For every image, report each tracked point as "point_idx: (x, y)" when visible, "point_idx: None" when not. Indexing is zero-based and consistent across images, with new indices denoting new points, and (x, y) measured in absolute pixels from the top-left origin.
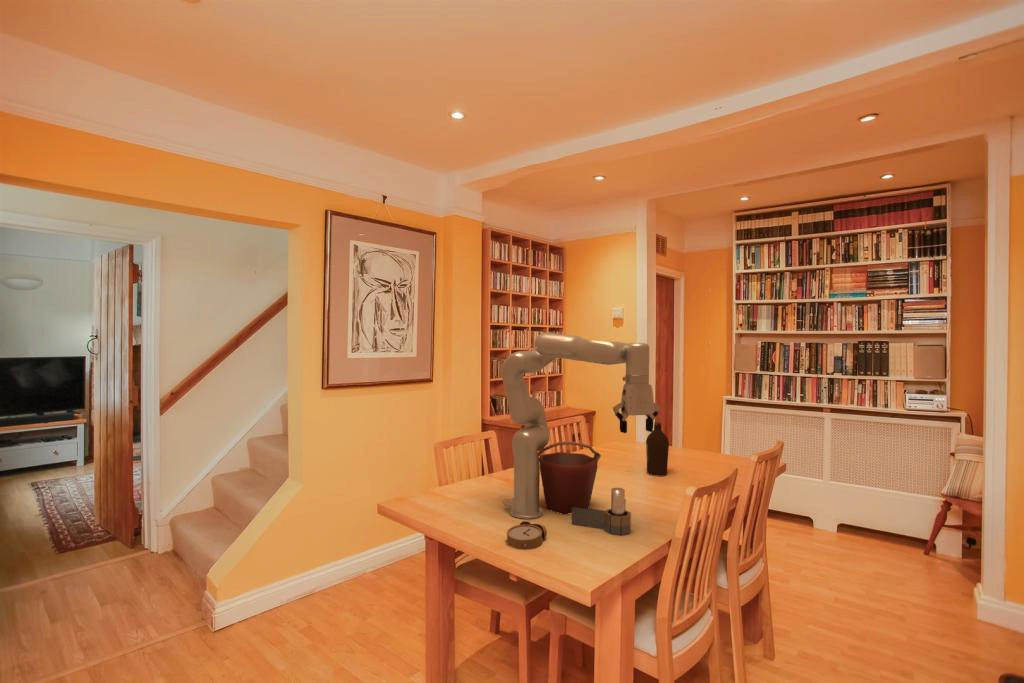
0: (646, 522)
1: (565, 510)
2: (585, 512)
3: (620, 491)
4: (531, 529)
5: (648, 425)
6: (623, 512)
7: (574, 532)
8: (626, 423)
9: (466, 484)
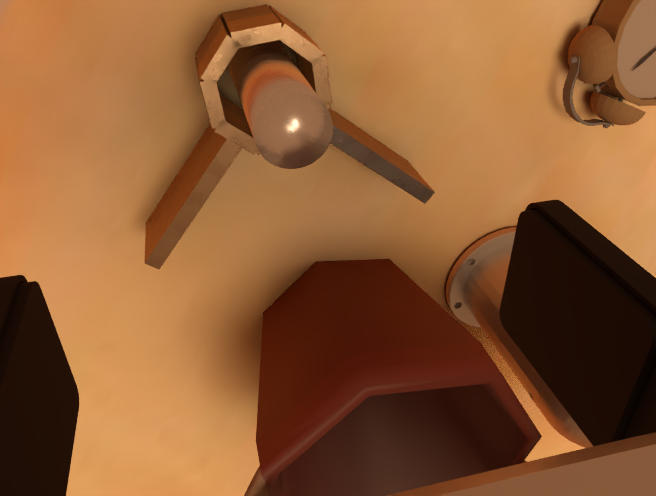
0: (74, 134)
1: (385, 265)
2: (386, 156)
3: (298, 93)
4: (631, 62)
5: (38, 414)
6: (254, 61)
7: (436, 82)
8: (646, 293)
9: None
